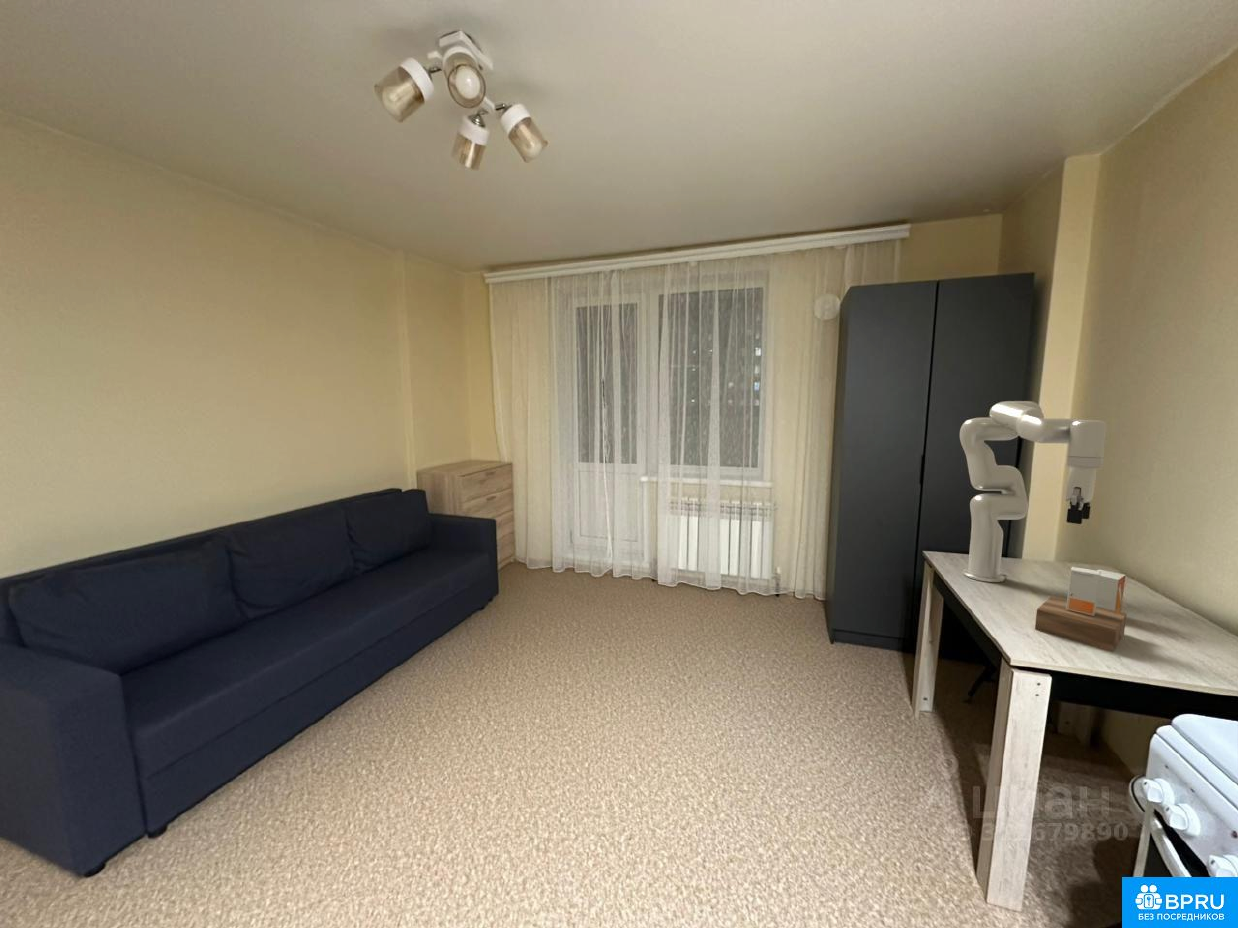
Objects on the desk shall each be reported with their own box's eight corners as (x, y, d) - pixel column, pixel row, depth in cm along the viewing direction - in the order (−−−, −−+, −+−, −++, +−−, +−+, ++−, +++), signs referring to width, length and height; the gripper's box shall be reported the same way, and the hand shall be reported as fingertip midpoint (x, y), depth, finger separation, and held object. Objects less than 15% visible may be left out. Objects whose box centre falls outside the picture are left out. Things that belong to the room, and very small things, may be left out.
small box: (1114, 621, 144) (1119, 579, 143) (1085, 614, 150) (1089, 573, 148) (1121, 615, 149) (1126, 574, 147) (1093, 608, 154) (1097, 568, 153)
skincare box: (1065, 610, 138) (1070, 569, 137) (1066, 605, 141) (1071, 566, 140) (1095, 616, 134) (1100, 574, 133) (1096, 612, 137) (1100, 571, 136)
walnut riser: (1049, 614, 149) (1051, 596, 149) (1123, 634, 137) (1126, 613, 136) (1034, 629, 140) (1036, 609, 139) (1113, 651, 127) (1115, 629, 126)
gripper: (1073, 459, 149) (1067, 514, 151) (1059, 463, 138) (1053, 522, 140) (1108, 461, 143) (1101, 518, 145) (1096, 466, 132) (1089, 527, 134)
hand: (1077, 520), depth 143 cm, fingers open, 9 cm apart
